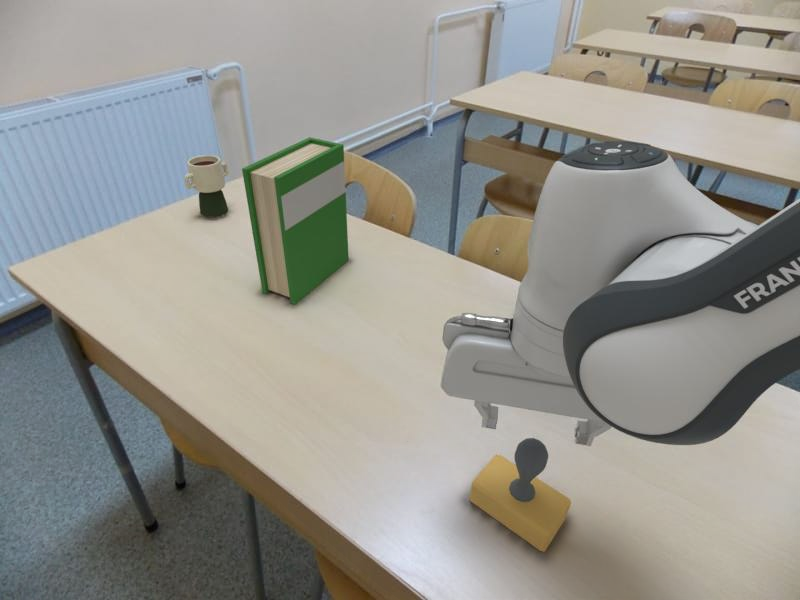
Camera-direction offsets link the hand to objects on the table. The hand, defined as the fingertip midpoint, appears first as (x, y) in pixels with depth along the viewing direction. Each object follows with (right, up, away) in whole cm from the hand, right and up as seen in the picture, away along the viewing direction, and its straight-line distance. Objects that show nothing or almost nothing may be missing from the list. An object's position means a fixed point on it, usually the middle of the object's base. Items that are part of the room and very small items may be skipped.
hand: (534, 431), depth 53 cm
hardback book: (-32, +18, +48) cm, 60 cm away
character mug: (-57, +34, +68) cm, 95 cm away
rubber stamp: (0, -11, +8) cm, 14 cm away
